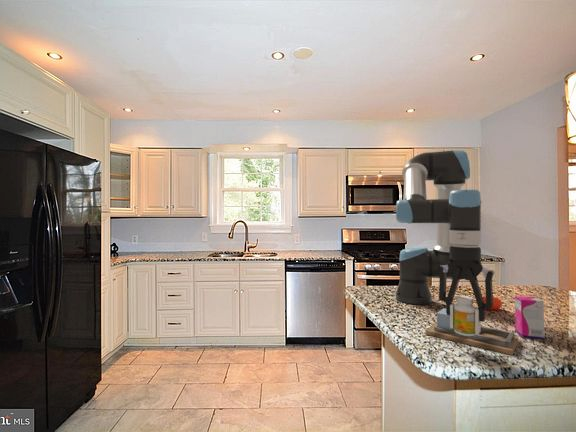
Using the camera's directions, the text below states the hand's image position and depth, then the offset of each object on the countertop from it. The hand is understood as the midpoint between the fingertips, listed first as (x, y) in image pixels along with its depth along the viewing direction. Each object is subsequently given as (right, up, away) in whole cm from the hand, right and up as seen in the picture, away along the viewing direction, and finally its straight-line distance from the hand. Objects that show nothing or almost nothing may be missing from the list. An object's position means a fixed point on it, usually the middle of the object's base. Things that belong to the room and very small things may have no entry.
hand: (465, 329), depth 85 cm
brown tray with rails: (+6, -6, +8) cm, 12 cm away
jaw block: (+2, -4, +13) cm, 13 cm away
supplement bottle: (0, -1, 0) cm, 1 cm away
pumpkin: (+33, -6, +39) cm, 51 cm away
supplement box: (+26, -6, +11) cm, 29 cm away
